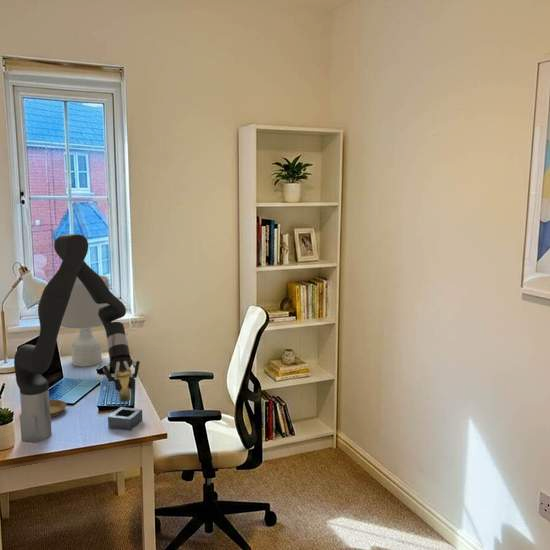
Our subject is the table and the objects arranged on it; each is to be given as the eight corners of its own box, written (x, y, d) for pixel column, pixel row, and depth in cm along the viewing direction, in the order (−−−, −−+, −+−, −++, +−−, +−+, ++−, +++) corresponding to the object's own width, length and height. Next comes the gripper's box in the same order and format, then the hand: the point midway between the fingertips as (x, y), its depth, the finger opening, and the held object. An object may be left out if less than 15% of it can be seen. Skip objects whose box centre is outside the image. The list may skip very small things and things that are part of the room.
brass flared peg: (127, 403, 196) (126, 374, 194) (115, 401, 197) (113, 373, 195) (134, 397, 201) (133, 369, 199) (122, 396, 202) (121, 368, 200)
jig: (130, 431, 195) (129, 419, 194) (108, 428, 197) (107, 416, 196) (142, 420, 204) (142, 409, 203) (121, 417, 206) (120, 406, 205)
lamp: (115, 353, 283) (112, 274, 275) (107, 369, 259) (103, 283, 252) (68, 355, 280) (63, 275, 273) (55, 371, 256) (49, 283, 249)
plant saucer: (56, 402, 220) (56, 396, 220) (73, 413, 210) (73, 406, 210) (19, 413, 210) (19, 406, 209) (35, 424, 200) (35, 418, 199)
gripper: (99, 345, 199) (105, 388, 191) (138, 341, 205) (146, 382, 197) (98, 355, 205) (104, 396, 196) (136, 350, 211) (143, 390, 202)
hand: (125, 389), depth 196 cm, fingers closed on brass flared peg, 4 cm apart
